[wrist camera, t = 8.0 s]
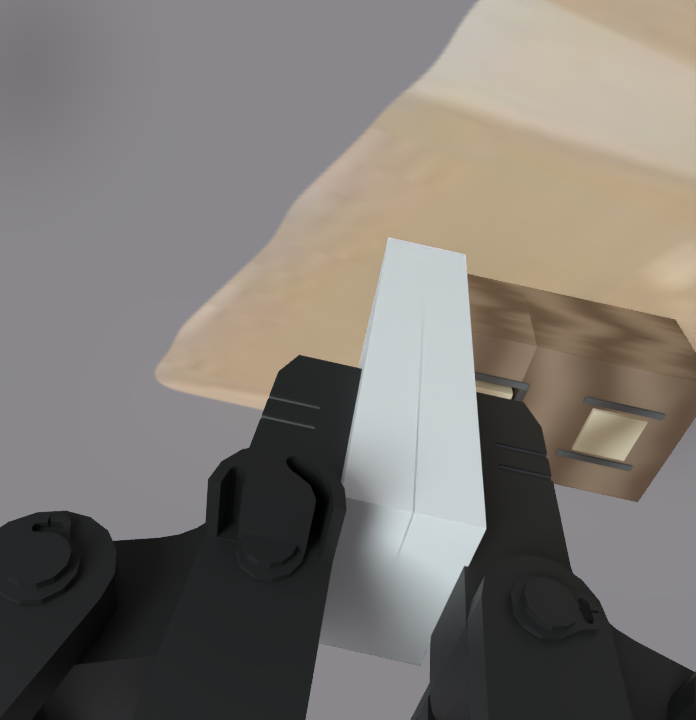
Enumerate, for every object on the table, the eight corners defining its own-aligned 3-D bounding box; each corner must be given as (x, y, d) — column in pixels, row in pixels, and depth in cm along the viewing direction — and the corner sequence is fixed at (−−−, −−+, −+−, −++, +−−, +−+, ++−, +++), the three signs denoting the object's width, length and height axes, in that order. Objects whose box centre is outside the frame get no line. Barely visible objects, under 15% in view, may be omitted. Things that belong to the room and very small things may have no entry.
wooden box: (675, 319, 49) (717, 388, 41) (611, 428, 56) (638, 504, 48) (433, 266, 49) (431, 325, 41) (400, 381, 56) (393, 450, 48)
